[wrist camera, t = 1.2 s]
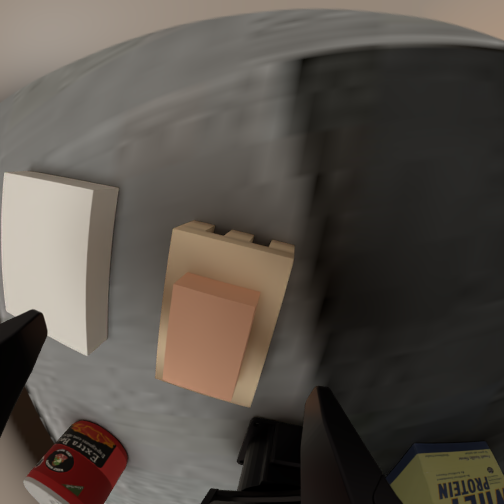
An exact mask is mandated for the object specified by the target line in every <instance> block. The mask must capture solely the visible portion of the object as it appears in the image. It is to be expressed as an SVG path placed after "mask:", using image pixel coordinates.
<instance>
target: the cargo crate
mask: <svg viewBox="0 0 504 504" xmlns="http://www.w3.org/2000/svg"><path fill="white" fill-rule="evenodd" d="M260 293H261V292H259V291H255V290H251V289H247V288H244V287H240V286H236V285H232V284H229V283H225V282H221V281H218V280H214V279H210V278H207V277H203V276H199V275H196V274H192V273H189V272H187V273H186V274H185V275H183V276H182V277H181V278H180V279H179V280H178V281H176V282H175V283H174V284H173V291H172V298H171V306H170V314H169V322H168V330H167V339H166V348H165V358H164V369H163V380H164V381H167V382H170V383H172V384H175V385H178V386H181V387H184V388H187V389H190V390H193V391H196V392H199V393H203V394H206V395H209V396H212V397H216V398H219V399H223V400H226V401H230V402H231V400H232V397H233V394H234V391H235V387H236V384H237V381H238V377H239V374H240V370H241V366H242V362H243V359H244V355H245V351H246V347H247V343H248V339H249V336H250V332H251V328H252V324H253V320H254V316H255V312H256V308H257V305H258V301H259V297H260Z"/></svg>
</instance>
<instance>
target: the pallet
mask: <svg viewBox="0 0 504 504" xmlns="http://www.w3.org/2000/svg"><path fill="white" fill-rule="evenodd" d="M214 228H215V225H211V224H207V223H203V222H199V221H195V220H193V221H191V222H188V223H186V224H183V225H181V226H178V227H175V228H173V231H172V237H171V244H170V250H169V257H168V264H167V271H166V278H165V285H164V293H163V301H162V310H161V319H160V328H159V338H158V349H157V361H156V375H155V378H156V379H159V380H162V381H164V380H163V369H164V358H165V348H166V339H167V330H168V322H169V314H170V306H171V298H172V291H173V284H174V283H175V282H176V281H178V280H179V279H180V278H181V277H182V276H183V275H185V274H186V273H187V272H189V273H192V274H196V275H199V276H203V277H207V278H210V279H214V280H218V281H221V282H225V283H229V284H232V285H236V286H240V287H244V288H247V289H251V290H255V291H259V292H261V293H260V297H259V301H258V305H257V308H256V312H255V316H254V320H253V324H252V328H251V332H250V336H249V339H248V343H247V347H246V351H245V355H244V359H243V362H242V366H241V370H240V374H239V377H238V381H237V384H236V387H235V391H234V394H233V397H232V400H231V402H230V401H227V402H230V403H234V404H238V405H241V406H245V407H249V408H250V406H251V403H252V400H253V397H254V394H255V391H256V388H257V384H258V381H259V378H260V375H261V372H262V368H263V365H264V362H265V359H266V355H267V352H268V349H269V345H270V342H271V339H272V335H273V332H274V329H275V325H276V322H277V318H278V315H279V311H280V308H281V304H282V301H283V297H284V294H285V290H286V287H287V283H288V279H289V276H290V272H291V268H292V265H293V261H294V247H295V245H291V244H287V243H284V242H280V241H276V240H272V241H271V243H270V245H269V247H266V246H262V245H258V244H254V243H253V239H254V235H252V234H248V233H244V232H240V231H236V230H231V231H229V232H228V233H227V234H225V235H224V236H222V235H218V234H214ZM164 382H167V381H164ZM167 383H170V382H167ZM170 384H172V383H170ZM173 385H175V384H173ZM176 386H178V385H176ZM179 387H181V386H179ZM182 388H184V387H182ZM184 389H187V388H184ZM187 390H190V389H187ZM191 391H193V390H191ZM194 392H196V391H194ZM197 393H199V392H197ZM200 394H203V393H200ZM203 395H206V394H203ZM206 396H209V395H206ZM210 397H212V396H210ZM213 398H216V397H213ZM216 399H219V398H216ZM220 400H223V399H220ZM223 401H226V400H223Z"/></svg>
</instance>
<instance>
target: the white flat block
mask: <svg viewBox="0 0 504 504" xmlns="http://www.w3.org/2000/svg"><path fill="white" fill-rule="evenodd" d="M118 191H119V188H117V187H112V186H107V185H102V184H97V183H92V182H86V181H81V180H76V179H71V178H66V177H60V176H55V175H49V174H44V173H38V172H32V171H20V172H5V173H4V183H3V196H2V216H1V253H2V274H3V286H4V297H5V305H6V311H7V312H9V313H11V314H12V315H14V316H15V317H16V316H18V315H20V314H22V313H24V312H27V311H29V310H31V309H35V310H37V311H40V312H42V313H43V315H44V319H45V322H46V326H47V329H48V334H47V336H49V337H51V338H53V339H55V340H57V341H58V342H60V343H62V344H64V345H66V346H68V347H70V348H72V349H74V350H76V351H78V352H80V353H82V354H84V355H86V356H88V355H90V354H91V353H92V352H93V351H94V350H95V349H96V348H97V347H99V346H100V345H101V344H102V343H103V342H104V341H105V340H107V327H108V291H109V273H110V260H111V248H112V238H113V229H114V220H115V212H116V205H117V198H118Z"/></svg>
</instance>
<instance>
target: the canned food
mask: <svg viewBox="0 0 504 504" xmlns="http://www.w3.org/2000/svg"><path fill="white" fill-rule="evenodd" d="M126 464H127V454H126V451H125V450H124V448H123V446H122V445H121V444H120V442H119V441H118V440H117V439H116V438H115V437H114V436H113V435H111V434H110V433H109V432H108V431H106V430H105V429H103V428H102V427H100V426H98V425H96V424H94V423H91V422H88V421H78V422H76V423H74V424H72V425H71V426H70V427H69V428H68V430H67V431H66V432H65V433H64V434H63V435H62V436H61V437H60V439H59V440H58V441H57V442H56V443H55V444H54V445H53V446H52V448H51V449H50V450H49V451H48V452H47V453H46V454H45V456H44V457H43V458H42V459H41V460H40V461H39V462H38V464H37V465H36V466H35V467H34V468H33V469H32V470H31V472H30V473H29V474H28V475H27V477H26V478H25V480H24V481H23V482H24V485H25V487H26V489H27V490H28V491H29V493H30V494H31V495H32V496H33V497H34V498H35V499H36V500H37V501H38V502H39V503H40V504H104V503H105V501H106V499H107V498H108V496H109V494H110V493H111V491H112V489H113V488H114V486H115V484H116V483H117V481H118V479H119V478H120V476H121V474H122V473H123V471H124V469H125V468H126Z"/></svg>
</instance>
